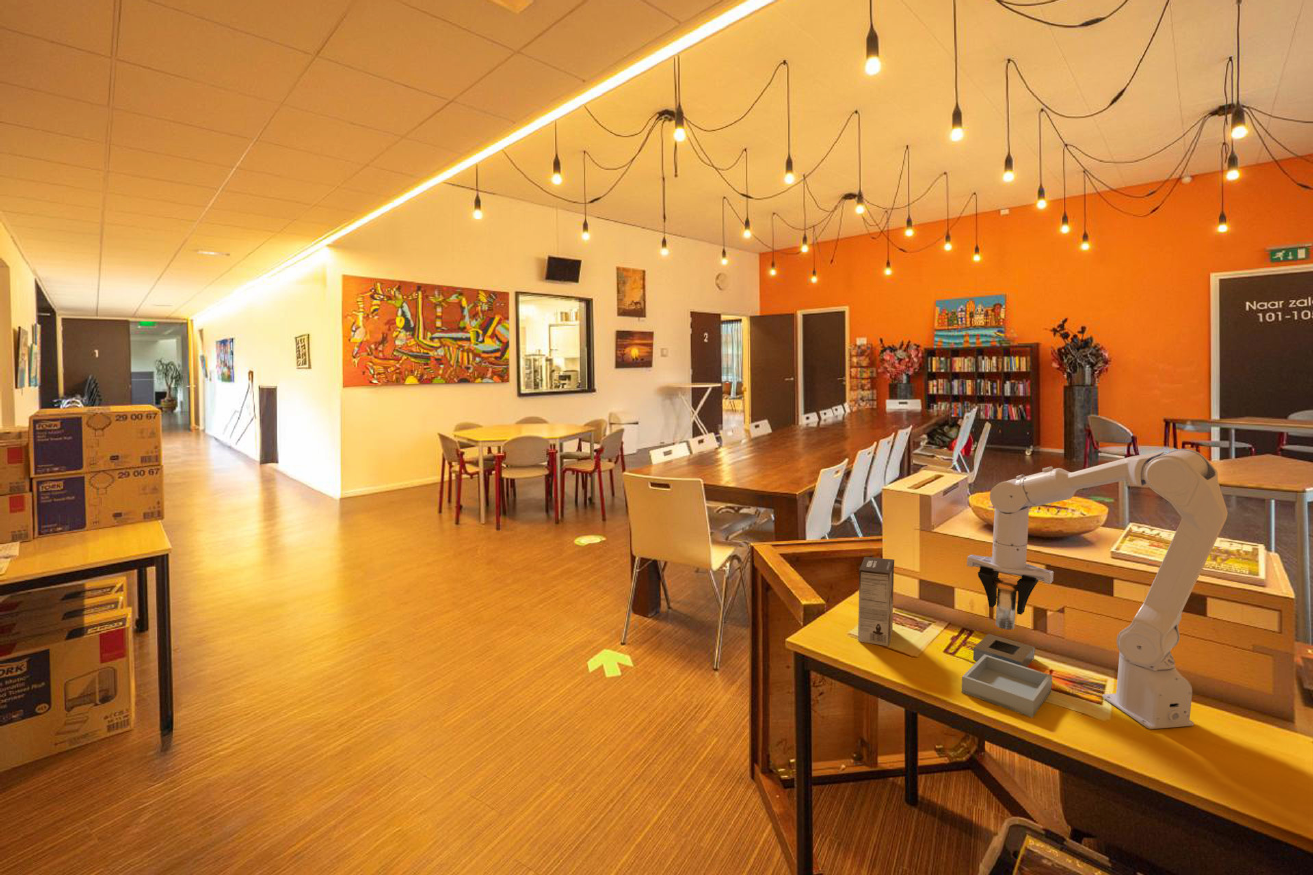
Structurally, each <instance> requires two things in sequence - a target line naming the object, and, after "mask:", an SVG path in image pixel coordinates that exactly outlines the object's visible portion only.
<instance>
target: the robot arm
mask: <svg viewBox="0 0 1313 875" xmlns="http://www.w3.org/2000/svg"><path fill="white" fill-rule="evenodd" d="M1163 454H1164V455H1163ZM1041 471H1042V472H1041ZM1041 471H1040V472H1037V473H1034V474H1030V475H1025V474H1020V475H1016V476H1015V478H1012V479H1009V480H1005V481H1001V482H999V483H997V484H996V485H995V486H993V487H992V488H991V490H990V492H989V500H990V503H991V505H992V506H993V507H994V515H993V516H994V518H993V530H992V531H993V534H992V535H993V536H992V553H991V554H992V555H991V556H983V555H976V554H970V555H968V556H967V557H966V559H967V560H966V566H967V567H971V568H973V567H976V568H979V571H978V572H977V576H978V578H979V580H980V582H981V585H982V586H983V589H984V591H985V594H986V597H987V602H988V607H989V608H994V607H995V606H997V594H998V588H996V587H995V586H994V579H996V578H999V575H1000V573H1004V574H1009V575H1012V576H1018V577H1020V578H1019V579H1017V587H1018V591H1017V603H1016V615H1019V616H1022V615H1023V614H1024V613H1025V608H1026V607H1027V606H1026V605H1027V603H1028V601H1029V597H1030V596H1031V594H1032V592H1033V590H1034V588H1035V587H1036V585H1037V584H1038V582H1039V581H1040V582H1043V583H1044V584H1048V585H1051V583H1052V582H1054V571H1053V570H1048V569H1046V568H1042V567H1038V566H1035V565H1031V564H1029V563H1027V556H1028V555H1027V552H1028V537H1029V535H1028V534H1029V516H1030V515H1029V512H1030V507H1038V506H1043V505H1048V504H1053V503H1056V502H1057V503H1058V502H1061V501H1067V500H1070V499H1072V498H1073V497H1074V496H1075V494H1076V492H1077V491H1078V490H1081V489H1087V488H1091V487H1092V488H1093V487H1097V486H1098V487H1099V486H1102V485H1107V484H1113V483H1118V482H1128V483H1129V484H1133V485H1136V486H1138V487H1142V486H1144V485H1147V486H1148V487H1149V488H1150V490H1152V491H1153V492H1155V493H1156V494H1157V495H1159V496H1160V497H1162V498H1163V499H1164V500H1166V501H1167V502H1168V503H1170V505H1172V506H1171V507H1173V508H1174V510H1175V512H1177V514H1178V515H1179V516H1180V517H1181V518H1180V522H1179V525H1178V526H1177V529H1176V531H1175V533H1174V535H1173V537H1172V540H1171V542H1170V543H1169V546H1168V548H1167V551H1166V553H1165V555H1164V557H1163V559H1162V562H1161V564H1160V566H1159V568H1158V570H1157V573H1156V575H1155V578H1154V579H1153V580H1152V581H1153V582H1152V584H1151V586H1150V588H1149V590H1148V592H1147V594H1146V597H1145V599H1144V602H1143V603H1142V604H1141V606H1140V608H1139V609H1138V611H1137V612H1136V614H1135V616H1133V619H1132V621H1131V623H1130V624H1129V625H1128V626H1127V627H1124V629H1122V630H1121V631H1119V633H1118V634H1117V637H1116V647H1117V648H1118V651H1119V654H1118V666H1117V667H1118V670H1117V681H1116V691H1115V692H1113V693H1103V694H1102V699H1105V701H1107V702H1108V703H1110V704H1111V705H1113V706H1115V707H1116V708H1118V709H1119V710H1121V711H1122V712H1123V713H1125V714H1126V715H1128V716H1129V717H1131V718H1132V719H1134V720H1135V721H1137V722H1138V723H1139V724H1141V725H1142V726H1144V727H1145V728H1147V729H1149V730H1153V729H1166V728H1168V729H1169V728H1178V727H1191V726H1194V724H1195V723H1194V721H1193V720H1192V719H1191V708H1192V699H1193V688H1192V685H1191V683H1190V682H1189V680H1188V679H1186V678H1185V677H1184V676H1183V675H1181V673H1180V672H1179V671H1178V670H1177V668H1176V661H1175V659H1174V656H1173V654H1172V652H1171V650H1172V649H1174V648H1175V647H1176V646H1177V645H1178V644H1179V642H1180V638H1181V636H1180V630H1179V624H1180V622H1181V620H1182V617H1183V616H1182V613H1183V610H1184V608H1185V607H1186V604H1187V602H1188V600H1189V598H1190V596H1191V593H1192V591H1193V589H1194V587H1195V586H1196V583H1197V581H1198V579H1199V578H1200V575H1201V573H1202V571H1203V568H1204V566H1205V564H1206V563H1207V560H1208V558H1209V556H1210V554H1211V552H1212V550H1213V548H1214V546H1215V544H1216V542H1217V540H1218V537H1219V536H1220V533H1221V532H1222V530H1223V527H1224V525H1225V522H1226V520H1227V518H1228V508H1227V505H1226V502H1225V499H1224V496H1223V492H1222V490H1221V487H1220V483H1219V477H1218V475H1219V474H1218V471H1217V469H1216V468H1215V467H1214V466H1213V464H1211V463H1210V461H1209V459H1207V458H1206V457H1205V456H1204V455H1203V454H1201V453H1200V452H1198V451H1197V450H1193V449H1189V448H1179V449H1177V448H1176V449H1173V450H1171V451H1169V452H1168V453H1166V454H1165V451H1160V452H1157V451H1156V452H1151V453H1144V454H1139V455H1132V456H1129V457H1128V456H1127V457H1125V458H1121V459H1116V460H1114V461H1109V462H1106V463H1102V464H1098V465H1095V466H1090V467H1088V468H1083V469H1079V470H1076V471H1072V472H1070V471H1068V470H1066V469H1064V468H1061V467H1057V468H1054V467H1053V466H1048V467H1043V468H1042V470H1041Z"/></svg>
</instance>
